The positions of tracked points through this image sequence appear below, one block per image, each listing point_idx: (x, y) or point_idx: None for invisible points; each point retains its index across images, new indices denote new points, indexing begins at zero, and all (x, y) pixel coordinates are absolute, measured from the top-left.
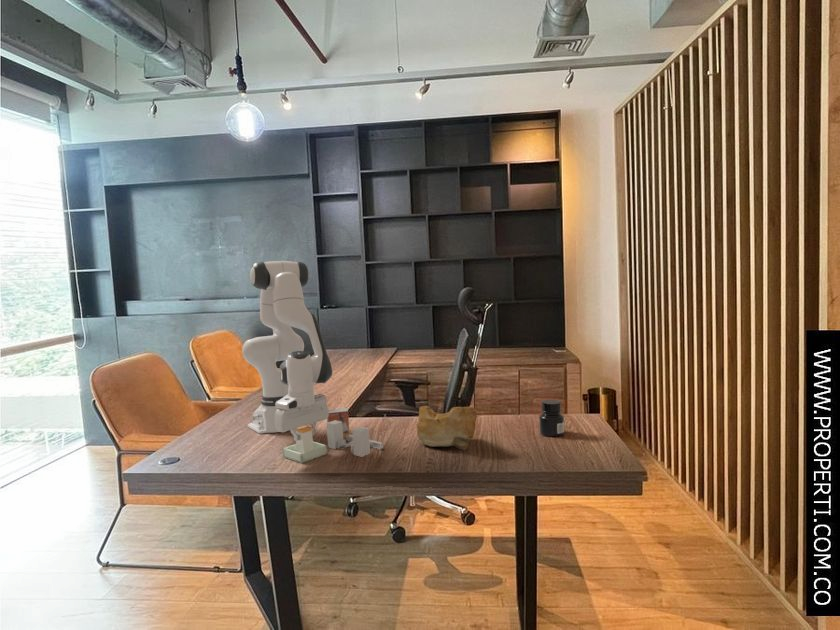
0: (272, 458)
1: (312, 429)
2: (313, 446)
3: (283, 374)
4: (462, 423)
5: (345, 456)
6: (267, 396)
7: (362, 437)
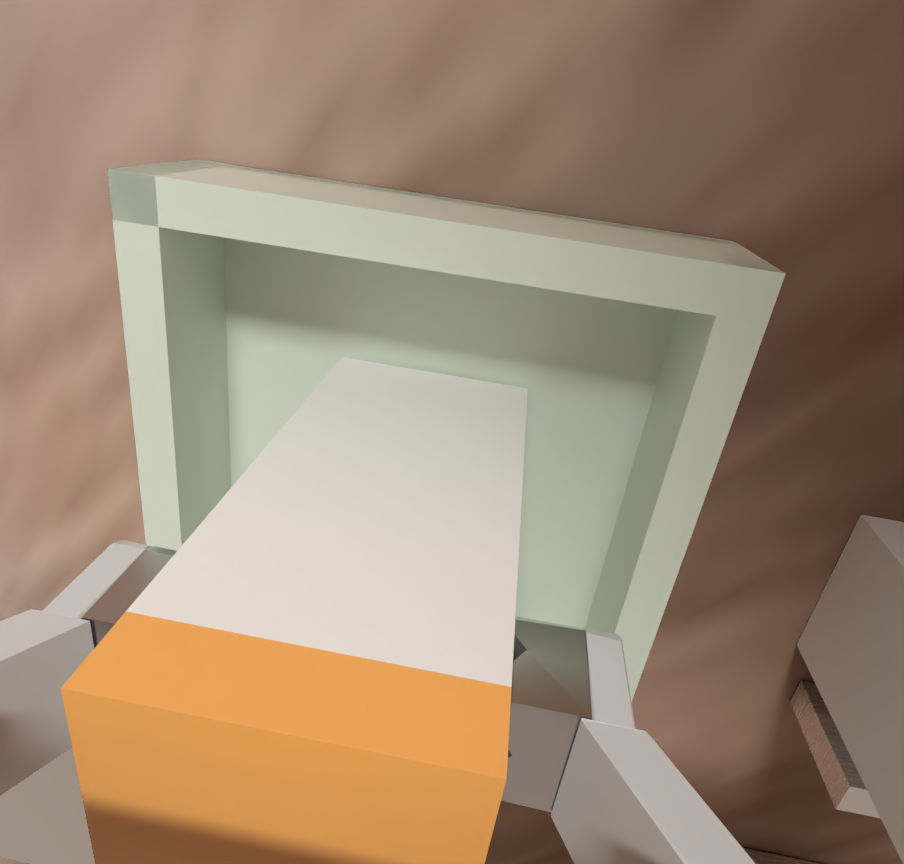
0: (48, 32)
1: (570, 846)
2: (647, 458)
3: None
4: None
5: None
6: None
7: None
